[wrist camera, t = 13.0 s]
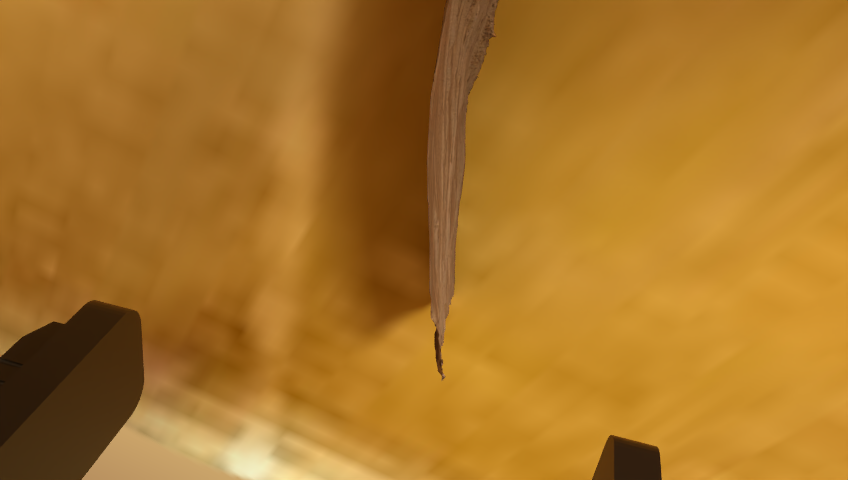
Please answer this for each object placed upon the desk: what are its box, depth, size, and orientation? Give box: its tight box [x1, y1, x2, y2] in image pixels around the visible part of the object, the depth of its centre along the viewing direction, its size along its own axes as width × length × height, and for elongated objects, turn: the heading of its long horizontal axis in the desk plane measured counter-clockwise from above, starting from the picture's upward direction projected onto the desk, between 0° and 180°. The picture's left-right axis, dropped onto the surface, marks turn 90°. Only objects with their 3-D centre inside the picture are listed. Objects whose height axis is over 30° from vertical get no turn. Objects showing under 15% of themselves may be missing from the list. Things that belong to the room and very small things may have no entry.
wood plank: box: [427, 0, 498, 380], centre depth 23 cm, size 15×2×5 cm, turn 176°
